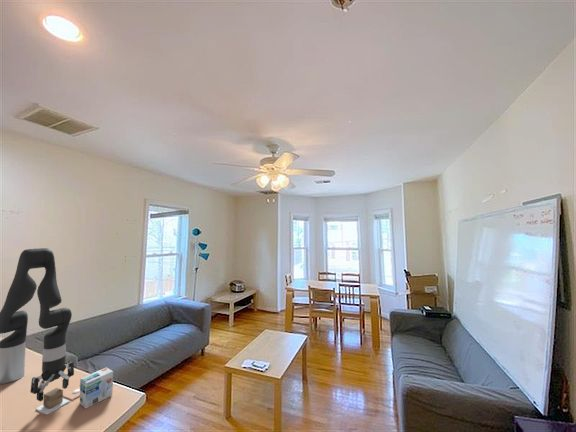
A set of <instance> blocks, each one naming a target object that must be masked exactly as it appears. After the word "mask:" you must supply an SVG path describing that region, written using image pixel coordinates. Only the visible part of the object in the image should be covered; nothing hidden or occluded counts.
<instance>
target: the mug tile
mask: <svg viewBox="0 0 576 432" xmlns="http://www.w3.org/2000/svg"><path fill="white" fill-rule="evenodd" d="M77 397H78V398H80V384H79V385H77V386H76V387H73V388H72V389H70V390H68V391H66V392H63V398H64V399H67V400H69V401H74V400H76V399H78V398H77ZM75 398H76V399H75Z"/></svg>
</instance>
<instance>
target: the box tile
mask: <svg viewBox="0 0 576 432" xmlns="http://www.w3.org/2000/svg"><path fill="white" fill-rule="evenodd" d="M70 402H71V400H69V399H67V398H64V397H63V402H61V403H60V404H58V405H56V406H54V407H52V408H51V409H49V408H47V407H44V406H43V404H41V405H40V406H37V407H36V408H35V411H38V412H40V413H42V414H45V415H50V414H51V413H53V412H55V411H56V410H58V409H60V408H62V407H63V406H65V405H67V404H69V403H70Z"/></svg>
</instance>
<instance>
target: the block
mask: <svg viewBox="0 0 576 432" xmlns="http://www.w3.org/2000/svg"><path fill="white" fill-rule="evenodd" d="M63 394H64V390H63V389H61V388H59V387H55V388H54V389H51V390H49V391H48V392H45V393H43V404H42V405H43V406H44V407H47V408H49V409H51V408H52V407H54V406H56V405H58V404H60V403H61V402H63V398H64V397H63Z"/></svg>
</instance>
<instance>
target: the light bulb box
mask: <svg viewBox="0 0 576 432" xmlns="http://www.w3.org/2000/svg"><path fill="white" fill-rule="evenodd" d="M113 381H114V371H113V370H112V369H110V368H108V367H107V366H106V367H104V368H102V369H100V370H97V371H95V372H93V373H90V374H87V375H85V376H83V377H81V378H80V381H79V383H80V384H79V385H80V396H79V404H80V405H81V406H82V407H83V408H84V409H88V408H89V407H92V406H93V405H96V404H98V403H99V402H102V401H104V400H106V399H108V398H110V397H113V387H114V385H113V384H114V383H113Z"/></svg>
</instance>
